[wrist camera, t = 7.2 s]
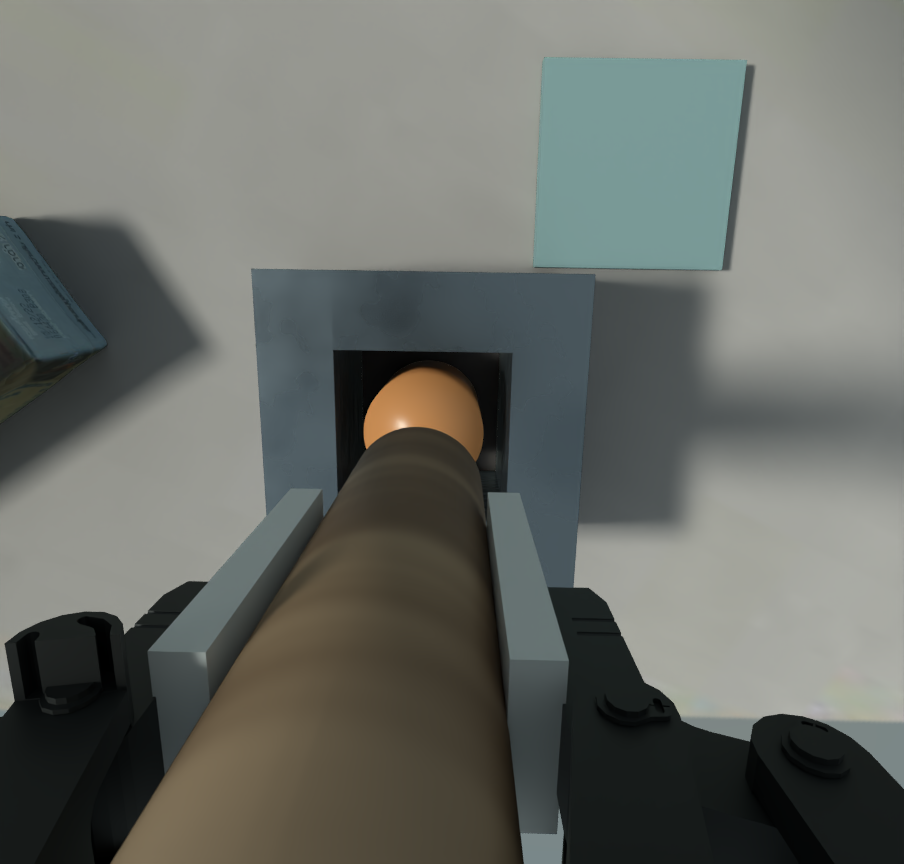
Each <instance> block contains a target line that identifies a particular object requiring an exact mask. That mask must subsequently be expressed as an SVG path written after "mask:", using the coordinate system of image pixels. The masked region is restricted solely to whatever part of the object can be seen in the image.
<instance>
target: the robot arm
mask: <svg viewBox="0 0 904 864" xmlns="http://www.w3.org/2000/svg"><path fill="white" fill-rule="evenodd" d="M322 519H323V491H322V489H296V488H291V489H290V490H289V491H288V492H287V493H286V494H285V496H284V497H283V498H282V499H281V500H280V501H279V502H278V504H277V505H276V506H275V507H274V508H273V509H272V510H271V511H270V513H269V514H268V515H267V516H266V517H265V518H264V519H263V521H262V522H261V523H260V524H259V525H258V526H257V527H256V528H255V530H254V531H253V532H252V533H251V534H250V535H249V536H248V538H247V539H246V540H245V541H244V542H243V543H242V544H241V546H240V547H239V548H238V549H237V550H236V551H235V552H234V553H233V555H232V556H231V557H230V558H229V559H228V560H227V561H226V563H225V564H224V565H223V566H222V567H221V568H220V569H219V570H218V572H217V573H216V574H215V575H214V576H213V577H212V578H211V580H210V581H209V582H195V581H188V582H186V583H184V584H183V585H181V586H179V587H177V588H175V589H173V590H172V591H170V592H168V593H166V594H164V595H163V596H162V597H161V598H160V599H159V600H158V601H157V602H156V603H155V604H154V605H153V606H152V607H151V608H150V609H149V610H148V614H144V615H143V616H142V617H141V618H140V619H139V620H138V621H137V622H136V623H135V627H134V628H130V629H129V630H128V631H127V633H126V634H125V635H124V630H123V624H122V622H121V621H120V620H119V618H118V617H117V616H115V615H111V614H108V613H105V612H80V613H73V614H67V615H62V616H59V617H55V618H52V619H49V620H46V621H42V622H40V623H38V624H35V625H33V626H31V627H29V628H27V629H25V630H23V631H21V632H19V633H18V634H17V635H15V636H14V637H13V638H11V639H10V640H9V641H8V642H6V643H5V648H6V654H7V660H8V665H9V671H10V676H11V682H12V688H13V693H14V699H15V702H14V703H13V704H12V706H11V707H10V708H9V709H8V711H7V712H6V713H5V714H4V716H3V717H0V864H110V862H111V861H112V859H113V858H114V856H115V854H116V853H117V851H118V850H119V848H120V846H121V845H122V843H123V841H124V840H125V838H126V837H127V835H128V833H129V832H130V830H131V828H132V827H133V825H134V824H135V822H136V820H137V819H138V817H139V816H140V814H141V812H142V811H143V809H144V807H145V806H146V804H147V803H148V801H149V799H150V798H151V796H152V795H153V793H154V791H155V790H156V788H157V786H158V785H159V783H160V782H161V780H162V778H163V777H164V775H165V773H166V772H167V770H168V769H169V767H170V765H171V764H172V762H173V761H174V759H175V757H176V756H177V754H178V752H179V751H180V749H181V748H182V746H183V744H184V743H185V741H186V739H187V738H188V736H189V735H190V733H191V731H192V730H193V728H194V727H195V725H196V723H197V722H198V720H199V718H200V717H201V715H202V714H203V712H204V710H205V709H206V707H207V706H208V704H209V702H210V701H211V699H212V697H213V696H214V694H215V693H216V691H217V689H218V688H219V686H220V684H221V683H222V681H223V680H224V678H225V676H226V675H227V673H228V672H229V670H230V668H231V667H232V665H233V663H234V662H235V660H236V659H237V657H238V655H239V654H240V652H241V650H242V649H243V647H244V646H245V644H246V642H247V641H248V639H249V638H250V636H251V634H252V633H253V631H254V629H255V628H256V626H257V625H258V623H259V621H260V620H261V618H262V617H263V615H264V613H265V612H266V610H267V608H268V607H269V605H270V604H271V602H272V600H273V599H274V597H275V595H276V594H277V592H278V591H279V589H280V587H281V586H282V584H283V583H284V581H285V579H286V578H287V576H288V574H289V573H290V571H291V570H292V568H293V566H294V565H295V563H296V561H297V560H298V558H299V557H300V555H301V553H302V552H303V550H304V549H305V547H306V545H307V544H308V542H309V540H310V539H311V537H312V536H313V534H314V532H315V531H316V529H317V528H318V526H319V524H320V523H321V521H322ZM486 531H487V540H488V549H489V559H490V568H491V577H492V586H493V596H494V605H495V614H496V623H497V632H498V642H499V651H500V660H501V669H502V679H503V688H504V697H505V706H506V716H507V724H508V729H509V735H510V744H511V753H512V762H513V772H514V781H515V790H516V799H517V808H518V817H519V826H520V833H537V834H557V825H558V810H559V809H560V814H561V819H562V824H563V830H564V839H563V852H562V853H563V854H562V864H904V789H903V788H902V787H901V786H900V785H899V784H898V783H897V781H895V779H894V778H893V777H892V776H891V775H890V774H889V773H888V772H887V771H886V770H885V769H884V768H883V767H882V766H881V765H880V763H879V762H878V761H877V760H876V759H875V758H874V757H873V756H872V755H871V754H870V753H869V752H867V750H865V749H864V748H863V747H862V746H861V745H859V744H858V743H857V742H856V741H855V740H853V739H852V738H851V737H849V736H847V735H846V734H844V733H842V732H840V731H838V730H836V729H835V728H833V727H831V726H829V725H827V724H824V723H822V722H819V721H815V720H813V719H809V718H806V717H803V716H795V715H787V714H777V715H771V716H765V717H763V718H762V719H760V720H759V721H758V722H756V723H755V724H754V725H753V729H752V734H751V740H750V742H749V741H745V740H741V739H737V738H733V737H729V736H725V735H721V734H717V733H712V732H709V731H706V730H703V729H700V728H696V727H694V726H691V725H689V724H687V723H685V722H683V721H681V717H680V715H679V713H678V711H677V709H676V707H675V705H674V703H673V702H672V701H671V700H670V699H669V698H667V697H666V696H665V695H664V694H663V693H662V692H661V691H660V690H658V689H656V688H654V687H652V686H650V685H648V684H646V683H644V681H643V679H642V677H641V674H640V672H639V670H638V668H637V666H636V664H635V662H634V660H633V657H632V655H631V653H630V651H629V649H628V647H627V645H626V643H625V641H624V638H623V636H621V632H620V630H619V628H618V626H617V624H616V622H614V617H613V615H612V613H611V611H610V609H609V607H608V605H607V603H606V602H605V601H604V600H603V599H602V598H600V597H599V596H598V595H597V594H595V593H594V592H593V591H592V590H591V589H589V588H565V587H547V585H546V581H545V578H544V575H543V571H542V568H541V564H540V561H539V558H538V554H537V551H536V547H535V544H534V541H533V537H532V534H531V530H530V527H529V524H528V520H527V517H526V513H525V510H524V507H523V503H522V500H521V496H520V493H498V492H488V496H487V528H486Z"/></svg>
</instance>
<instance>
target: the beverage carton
mask: <svg viewBox="0 0 904 864" xmlns="http://www.w3.org/2000/svg"><path fill="white" fill-rule="evenodd" d="M106 346H107V342H106V340H105V339H104V337H103V336H102V335H101V334H100V333H99V331H98V330H97V329H96V328H95V327H94V325H93V324H92V323H91V322H90V320H89V319H88V318H87V316H86V315H85V314H84V313H83V311H82V310H81V309H80V308H79V306H78V305H77V304H76V302H75V301H74V300H73V298H72V297H71V296H70V294H69V293H68V291H67V290H66V289H65V287H64V286H63V285H62V283H61V282H60V281H59V279H58V278H57V277H56V275H55V274H54V273H53V271H52V270H51V268H50V267H49V266H48V264H47V263H46V262H45V260H44V259H43V258H42V256H41V255H40V254H39V252H38V251H37V250H36V248H35V247H34V245H33V244H32V242H31V241H30V240H29V238H28V237H27V236H26V234H25V233H24V232H23V231H22V229H21V228H20V227H19V226H18V224H17V223H16V222H15V221H14V220H13V219H12V218H9V217H6V216H0V424H1V423H2V422H4V421H5V420H6V419H8V418H9V417H11V416H12V415H13V414H15V413H16V412H17V411H19V410H20V409H21V408H23V407H24V406H26V405H27V404H28V403H30V402H31V401H32V400H34V399H35V398H37V397H38V396H39V395H41V394H42V393H43V392H45V391H46V390H48V389H49V388H50V387H51V386H53V385H54V384H55V383H57V382H58V381H59V380H60V379H62V378H63V377H64V376H65V375H67V374H68V373H69V372H70V371H72V370H73V369H74V368H76V367H77V366H79V365H80V364H81V363H83V362H84V361H86V360H87V359H88V358H90V357H91V356H93V355H94V354H95V353H97V352H98V351H100V350H102V349H103V348H105V347H106Z"/></svg>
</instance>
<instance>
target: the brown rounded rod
mask: <svg viewBox="0 0 904 864" xmlns="http://www.w3.org/2000/svg"><path fill="white" fill-rule="evenodd" d="M486 528H487V527H486V518H485V509H484V500H483V491H482V482H481V477H480V473H479V470H478V467H477V465H476V463H475V461H474V459H473V457H472V456H471V454H470V453H469V452H468V451H467V449H466V448H465V447H464V446H463V445H462V444H461V443H459V442H458V441H457V440H456V439H454V438H453V437H451V436H449V435H447V434H445V433H443V432H441V431H438V430H435V429H431V428H426V427H407V428H401V429H398V430H394V431H391V432H389V433H387V434H385V435H383V436H382V437H380V438H379V439H377V440H376V441H375V442H373V443H372V444H371V445H370V446H369V447H368V448H367V450H366V451H365V452H364V454H363V455H362V456H361V458H360V460H359V461H358V463H357V464H356V466H355V468H354V469H353V471H352V472H351V474H350V476H349V477H348V479H347V481H346V482H345V484H344V485H343V487H342V489H341V490H340V492H339V494H338V495H337V497H336V498H335V500H334V502H333V503H332V505H331V506H330V508H329V510H328V511H327V513H326V515H325V516H324V518H323V519H322V521H321V523H320V524H319V526H318V528H317V529H316V531H315V532H314V534H313V536H312V537H311V539H310V540H309V542H308V544H307V545H306V547H305V549H304V550H303V552H302V553H301V555H300V557H299V558H298V560H297V561H296V563H295V565H294V566H293V568H292V570H291V571H290V573H289V574H288V576H287V578H286V579H285V581H284V583H283V584H282V586H281V587H280V589H279V591H278V592H277V594H276V595H275V597H274V599H273V600H272V602H271V604H270V605H269V607H268V608H267V610H266V612H265V613H264V615H263V617H262V618H261V620H260V621H259V623H258V625H257V626H256V628H255V629H254V631H253V633H252V634H251V636H250V638H249V639H248V641H247V642H246V644H245V646H244V647H243V649H242V650H241V652H240V654H239V655H238V657H237V659H236V660H235V662H234V663H233V665H232V667H231V668H230V670H229V672H228V673H227V675H226V676H225V678H224V680H223V681H222V683H221V684H220V686H219V688H218V689H217V691H216V693H215V694H214V696H213V697H212V699H211V701H210V702H209V704H208V706H207V707H206V709H205V710H204V712H203V714H202V715H201V717H200V718H199V720H198V722H197V723H196V725H195V727H194V728H193V730H192V731H191V733H190V735H189V736H188V738H187V739H186V741H185V743H184V744H183V746H182V748H181V749H180V751H179V752H178V754H177V756H176V757H175V759H174V761H173V762H172V764H171V765H170V767H169V769H168V770H167V772H166V773H165V775H164V777H163V778H162V780H161V782H160V783H159V785H158V786H157V788H156V790H155V791H154V793H153V795H152V796H151V798H150V799H149V801H148V803H147V804H146V806H145V807H144V809H143V811H142V812H141V814H140V816H139V817H138V819H137V820H136V822H135V824H134V825H133V827H132V828H131V830H130V832H129V833H128V835H127V837H126V838H125V840H124V841H123V843H122V845H121V846H120V848H119V850H118V851H117V853H116V854H115V856H114V858H113V859H112V861H111V862H110V864H524V862H523V853H522V844H521V836H520V826H519V817H518V808H517V799H516V790H515V781H514V772H513V762H512V753H511V744H510V735H509V729H508V724H507V716H506V706H505V697H504V688H503V679H502V669H501V660H500V651H499V642H498V632H497V623H496V614H495V605H494V596H493V586H492V577H491V568H490V559H489V549H488V540H487V531H486Z"/></svg>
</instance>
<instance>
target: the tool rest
mask: <svg viewBox="0 0 904 864" xmlns="http://www.w3.org/2000/svg"><path fill="white" fill-rule="evenodd" d="M746 63H747V60H706V59H635V58H563V57H544V60H543V63H542V84H541V106H540V127H539V149H538V170H537V192H536V214H535V235H534V257H533V267H538V268H600V269H663V270H722V265H723V257H724V248H725V240H726V231H727V223H728V215H729V206H730V198H731V189H732V181H733V173H734V164H735V156H736V147H737V139H738V131H739V122H740V114H741V105H742V97H743V89H744V80H745V72H746Z"/></svg>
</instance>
